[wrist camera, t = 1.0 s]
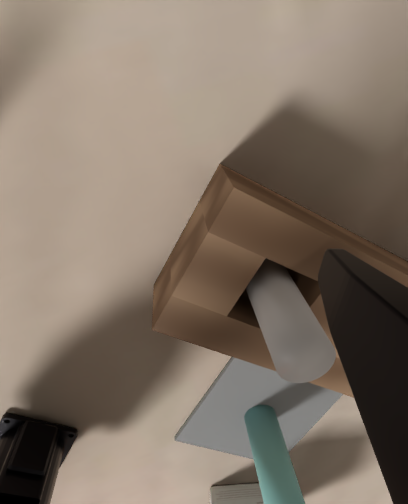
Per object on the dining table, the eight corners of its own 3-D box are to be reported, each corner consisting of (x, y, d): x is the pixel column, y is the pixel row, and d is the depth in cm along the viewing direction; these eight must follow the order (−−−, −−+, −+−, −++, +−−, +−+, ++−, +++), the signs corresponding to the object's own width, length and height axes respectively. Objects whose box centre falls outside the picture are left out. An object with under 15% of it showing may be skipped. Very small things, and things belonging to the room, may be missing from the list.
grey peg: (263, 284, 27) (312, 389, 18) (229, 269, 26) (263, 373, 17) (284, 252, 26) (348, 348, 17) (250, 236, 25) (298, 328, 16)
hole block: (388, 373, 33) (423, 420, 29) (153, 285, 26) (151, 329, 22) (467, 292, 30) (521, 332, 25) (219, 163, 22) (233, 187, 18)
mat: (275, 461, 38) (277, 464, 37) (174, 436, 34) (174, 440, 34) (344, 386, 33) (346, 390, 33) (237, 349, 30) (238, 353, 29)
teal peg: (264, 429, 34) (299, 553, 26) (238, 421, 34) (265, 548, 25) (281, 409, 33) (323, 532, 25) (254, 401, 32) (289, 526, 24)
